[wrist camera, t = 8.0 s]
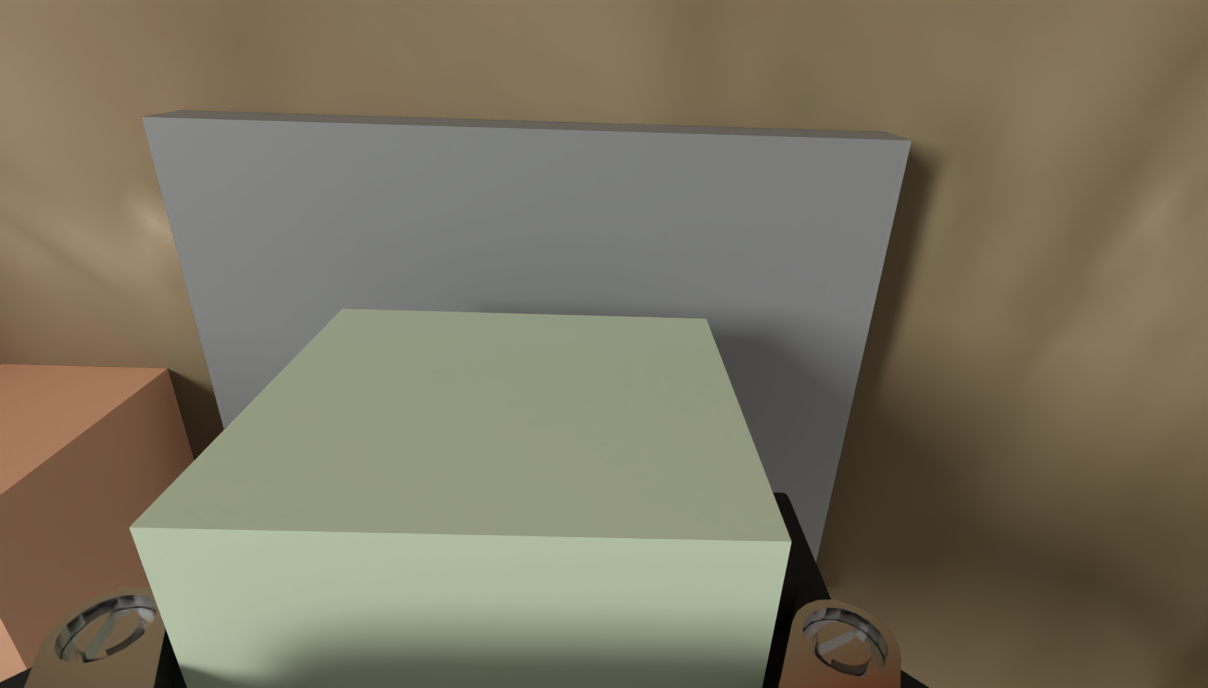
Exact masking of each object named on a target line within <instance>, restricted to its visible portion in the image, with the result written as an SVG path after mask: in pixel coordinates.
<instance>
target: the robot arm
mask: <svg viewBox="0 0 1208 688" xmlns="http://www.w3.org/2000/svg"><path fill="white" fill-rule="evenodd" d="M773 495H774V497H775V500H776V502H777V505H778V508H779V510H780V513H781V516H782V518H783V521H784V523H785V526H786V529H787V531H788V534H789V536H790V539H791V547H790V552H789V557H788V562H787V567H786V572H785V577H784V582H783V587H782V591H781V596H780V601H779V606H778V611H777V616H776V621H775V626H774V631H773V636H772V641H771V646H770V651H769V656H768V661H767V666H766V671H765V676H764V681H763V685H762V688H929V687H927V686H926V685H924V684H922V683H921V682H919V681H918V680H916V679H915V678H913V677H911V676H910V675H908V674H907V673H905V672H904V671H902V670H901V657H900V652H899V646H898V644H897V642H896V640H895V638H894V637H893V635H892V633H891V631H890V630H889V629H888V628H887V627H886V626H885V625H884V624H883V623H882V622H881V621H880V620H879V619H878V618H876V617H875V616H873V615H872V614H870V613H869V612H868V611H866V610H864V609H862V608H860V607H858V606H855V605H853V604H851V603H847V602H843V601H838V600H831V598H830V596H829V593H828V591H827V588H826V586H825V583H824V581H823V579H822V576H821V574H820V571H819V569H818V567H817V564H816V562H815V559H814V557H813V554H812V552H811V550H810V547H809V545H808V542H807V540H806V538H805V535H804V533H803V530H802V528H801V525H800V523H799V521H798V518H797V516H796V513H795V511H794V509H793V506H792V504H791V501H790V499H789V498H788V496H787V494H785V493H782V492H773ZM0 688H187V686H186V683H185V680H184V678H183V675H182V672H181V669H180V667H179V664H178V661H177V658H176V656H175V653H174V650H173V647H172V645H171V642H170V639H169V636H168V633H167V631H166V628H165V625H164V622H163V620H162V617H161V614H160V611H159V609H158V606H157V603H156V600H155V598H154V595H153V592H152V589H151V588H149V587H131V588H125V589H118V590H115V591H112V592H109V593H106V594H103V595H100V596H98V597H96V598H94V599H92V600H90V601H88V602H86V603H84V604H82V605H80V606H79V607H77V608H76V609H74V610H73V611H71V612H70V613H69V614H67V615H66V616H64V617H63V618H62V619H61V620H60V621H59V622H58V623H57V624H56V625H55V626H54V627H53V628H52V629H51V630H50V631H49V633H48V634H47V636H46V637H45V639H44V641H43V642H42V644H41V646H40V649H39V651H38V654H37V656H36V659H35V661H34V664H33V666H32V667H31V668H29V669H27V670H25V671H22V672H20V673H18V674H16V675H14V676H12V677H10V678H8V679H6V680H4V681H1V682H0Z"/></svg>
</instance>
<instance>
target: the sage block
mask: <svg viewBox="0 0 1208 688" xmlns="http://www.w3.org/2000/svg"><path fill="white" fill-rule="evenodd" d="M129 529H130V531H131V534H132V537H133V540H134V542H135V545H136V548H137V551H138V553H139V556H140V559H141V562H142V564H143V567H144V570H145V573H146V576H147V578H148V581H149V584H150V587H151V589H152V592H153V595H154V598H155V600H156V603H157V606H158V609H159V611H160V614H161V617H162V620H163V622H164V625H165V628H166V631H167V633H168V636H169V639H170V642H171V645H172V647H173V650H174V653H175V656H176V658H177V661H178V664H179V667H180V669H181V672H182V675H183V678H184V680H185V683H186V686H187V688H762V685H763V681H764V676H765V671H766V666H767V661H768V656H769V651H770V646H771V641H772V636H773V631H774V626H775V621H776V616H777V611H778V606H779V601H780V596H781V591H782V587H783V582H784V577H785V572H786V567H787V562H788V557H789V552H790V547H791V539H790V536H789V534H788V531H787V529H786V526H785V523H784V521H783V518H782V516H781V513H780V510H779V508H778V505H777V502H776V500H775V497H774V495H773V492H772V489H771V487H770V484H769V482H768V479H767V476H766V474H765V471H764V468H763V466H762V463H761V461H760V458H759V455H758V453H757V450H756V448H755V445H754V442H753V440H752V437H751V434H750V432H749V429H748V427H747V424H746V421H745V419H744V416H743V414H742V411H741V408H740V406H739V403H738V400H737V398H736V395H735V393H734V390H733V387H732V385H731V382H730V380H729V377H728V374H727V372H726V369H725V366H724V364H723V361H722V359H721V356H720V353H719V351H718V348H717V346H716V343H715V340H714V338H713V335H712V332H711V330H710V327H709V325H708V322H707V319H698V318H662V317H626V316H590V315H553V314H517V313H481V312H445V311H409V310H373V309H341V310H340V311H339V312H338V313H337V315H336V316H335V317H334V318H333V319H332V320H331V321H330V322H329V323H328V324H327V325H326V326H325V327H324V328H323V329H322V330H321V331H320V332H319V333H318V334H317V335H316V336H315V337H314V338H313V339H312V340H311V341H310V342H309V343H308V344H307V345H306V346H305V347H304V348H303V349H302V350H301V351H300V353H299V354H298V355H297V356H296V357H295V358H294V359H293V360H292V361H291V362H290V363H289V364H288V365H287V366H286V367H285V368H284V369H283V370H282V371H281V372H280V373H279V374H278V375H277V376H276V377H275V378H274V379H273V380H272V381H271V382H270V383H269V384H268V385H267V386H266V387H265V388H264V389H263V391H262V392H261V393H260V394H259V395H258V396H257V397H256V398H255V399H254V400H253V401H252V402H251V403H250V404H249V405H248V406H247V407H246V408H245V409H244V410H243V411H242V412H241V413H240V414H239V415H238V416H237V417H236V418H235V419H234V420H233V421H232V422H231V423H230V424H229V425H228V426H227V428H226V429H225V430H224V431H223V432H222V433H221V434H220V435H219V436H218V437H217V438H216V439H215V440H214V441H213V442H212V443H211V444H210V445H209V446H208V447H207V448H206V449H205V450H204V451H203V452H202V453H201V454H200V455H199V456H198V457H197V458H196V459H195V460H194V461H193V462H192V463H191V464H190V466H189V467H188V468H187V469H186V470H185V471H184V472H183V473H182V474H181V475H180V476H179V477H178V478H177V479H176V480H175V481H174V482H173V483H172V484H171V485H170V486H169V487H168V488H167V489H166V490H165V491H164V492H163V493H162V494H161V495H160V496H159V497H158V498H157V499H156V500H155V501H154V502H153V504H152V505H151V506H150V507H149V508H148V509H147V510H146V511H145V512H144V513H143V514H142V515H141V516H140V517H139V518H138V519H137V520H136V521H135V522H134V523H133V524H132V525H131V526H130V527H129Z"/></svg>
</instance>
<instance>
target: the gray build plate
mask: <svg viewBox="0 0 1208 688" xmlns="http://www.w3.org/2000/svg"><path fill="white" fill-rule="evenodd" d="M142 121H143V125H144V129H145V132H146V136H147V140H148V144H149V148H150V151H151V155H152V159H153V163H154V166H155V170H156V174H157V178H158V182H159V185H160V189H161V193H162V197H163V201H164V204H165V208H166V212H167V216H168V219H169V223H170V227H171V231H172V235H173V238H174V242H175V246H176V250H177V253H178V257H179V261H180V265H181V269H182V272H183V276H184V280H185V284H186V288H187V291H188V295H189V299H190V303H191V306H192V310H193V314H194V318H195V322H196V325H197V329H198V333H199V337H200V341H201V344H202V348H203V352H204V356H205V359H206V363H207V367H208V371H209V375H210V378H211V382H212V386H213V390H214V394H215V397H216V401H217V405H218V409H219V412H220V416H221V420H222V424H223V428H224V430H225V429H226V428H227V426H228V425H229V424H230V423H231V422H232V421H233V420H234V419H235V418H236V417H237V416H238V415H239V414H240V413H241V412H242V411H243V410H244V409H245V408H246V407H247V406H248V405H249V404H250V403H251V402H252V401H253V400H254V399H255V398H256V397H257V396H258V395H259V394H260V393H261V392H262V391H263V389H264V388H265V387H266V386H267V385H268V384H269V383H270V382H271V381H272V380H273V379H274V378H275V377H276V376H277V375H278V374H279V373H280V372H281V371H282V370H283V369H284V368H285V367H286V366H287V365H288V364H289V363H290V362H291V361H292V360H293V359H294V358H295V357H296V356H297V355H298V354H299V353H300V351H301V350H302V349H303V348H304V347H305V346H306V345H307V344H308V343H309V342H310V341H311V340H312V339H313V338H314V337H315V336H316V335H317V334H318V333H319V332H320V331H321V330H322V329H323V328H324V327H325V326H326V325H327V324H328V323H329V322H330V321H331V320H332V319H333V318H334V317H335V316H336V315H337V313H338V312H339V311H340V310H341V309H373V310H409V311H445V312H481V313H517V314H553V315H590V316H626V317H662V318H698V319H707V322H708V325H709V327H710V330H711V332H712V335H713V338H714V340H715V343H716V346H717V348H718V351H719V353H720V356H721V359H722V361H723V364H724V366H725V369H726V372H727V374H728V377H729V380H730V382H731V385H732V387H733V390H734V393H735V395H736V398H737V400H738V403H739V406H740V408H741V411H742V414H743V416H744V419H745V421H746V424H747V427H748V429H749V432H750V434H751V437H752V440H753V442H754V445H755V448H756V450H757V453H758V455H759V458H760V461H761V463H762V466H763V468H764V471H765V474H766V476H767V479H768V482H769V484H770V487H771V489H772V492H782V493H785V494H787V496H788V498H789V499H790V501H791V504H792V506H793V509H794V511H795V513H796V516H797V518H798V521H799V523H800V525H801V528H802V530H803V533H804V535H805V538H806V540H807V542H808V545H809V547H810V550H811V552H812V554H813V557H814V559H815V562H816V561H817V556H818V552H819V547H820V543H821V539H822V534H823V530H824V525H825V521H826V517H827V512H828V508H829V503H830V499H831V494H832V490H833V486H834V481H835V477H836V472H837V468H838V463H839V459H840V455H841V450H842V446H843V441H844V437H845V433H846V428H847V424H848V419H849V415H850V410H851V406H852V402H853V397H854V393H855V388H856V384H857V379H858V375H859V371H860V366H861V362H862V357H863V353H864V349H865V344H866V340H867V335H868V331H869V326H870V322H871V318H872V313H873V309H874V304H875V300H876V295H877V291H878V287H879V282H880V278H881V273H882V269H883V265H884V260H885V256H886V251H887V247H888V242H889V238H890V234H891V229H892V225H893V220H894V216H895V211H896V207H897V203H898V198H899V194H900V189H901V185H902V181H903V176H904V172H905V167H906V163H907V158H908V154H909V150H910V145H911V140H908V139H905V138H902V137H899V136H896V135H893V134H889V133H886V132H864V131H831V130H799V129H767V128H734V127H702V126H669V125H637V124H604V123H572V122H539V121H507V120H475V119H442V118H410V117H377V116H345V115H312V114H280V113H247V112H215V111H182V110H181V111H175V112H168V113H162V114H156V115H150V116H144V117H142Z"/></svg>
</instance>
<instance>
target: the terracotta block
mask: <svg viewBox="0 0 1208 688" xmlns="http://www.w3.org/2000/svg"><path fill="white" fill-rule="evenodd" d="M193 461H194V458H193V454H192V451H191V447H190V444H189V441H188V437H187V434H186V430H185V427H184V423H183V420H182V417H181V413H180V410H179V406H178V403H177V399H176V396H175V393H174V389H173V386H172V382H171V379H170V375H169V372H168V369H167V368H129V367H90V366H52V365H13V364H0V682H1V681H4V680H6V679H8V678H10V677H12V676H14V675H16V674H18V673H20V672H22V671H25V670H27V669H29V668H31V667H32V666H33V664H34V661H35V659H36V656H37V654H38V651H39V649H40V646H41V644H42V642H43V641H44V639H45V637H46V636H47V634H48V633H49V631H50V630H51V629H52V628H53V627H54V626H55V625H56V624H57V623H58V622H59V621H60V620H61V619H62V618H63V617H64V616H66V615H67V614H69V613H70V612H71V611H73V610H74V609H76V608H77V607H79V606H80V605H82V604H84V603H86V602H88V601H90V600H92V599H94V598H96V597H98V596H100V595H103V594H106V593H109V592H112V591H115V590H118V589H125V588H131V587H149V588H151V587H150V584H149V581H148V578H147V576H146V573H145V570H144V567H143V564H142V562H141V559H140V556H139V553H138V551H137V548H136V545H135V542H134V540H133V537H132V534H131V531H130V529H129V527H130V526H131V525H132V524H133V523H134V522H135V521H136V520H137V519H138V518H139V517H140V516H141V515H142V514H143V513H144V512H145V511H146V510H147V509H148V508H149V507H150V506H151V505H152V504H153V502H154V501H155V500H156V499H157V498H158V497H159V496H160V495H161V494H162V493H163V492H164V491H165V490H166V489H167V488H168V487H169V486H170V485H171V484H172V483H173V482H174V481H175V480H176V479H177V478H178V477H179V476H180V475H181V474H182V473H183V472H184V471H185V470H186V469H187V468H188V467H189V466H190V464H191V463H192V462H193Z"/></svg>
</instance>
